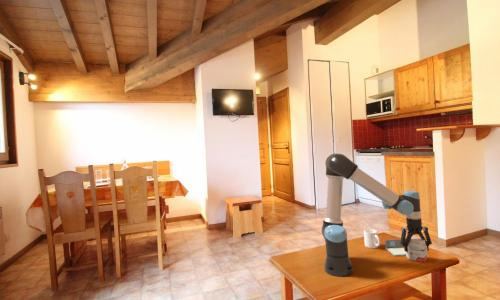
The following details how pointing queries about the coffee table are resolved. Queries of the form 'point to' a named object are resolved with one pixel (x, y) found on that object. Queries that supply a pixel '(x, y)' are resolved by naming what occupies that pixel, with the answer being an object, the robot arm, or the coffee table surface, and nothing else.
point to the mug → (371, 238)
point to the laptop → (395, 247)
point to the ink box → (417, 249)
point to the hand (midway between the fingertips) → (417, 256)
